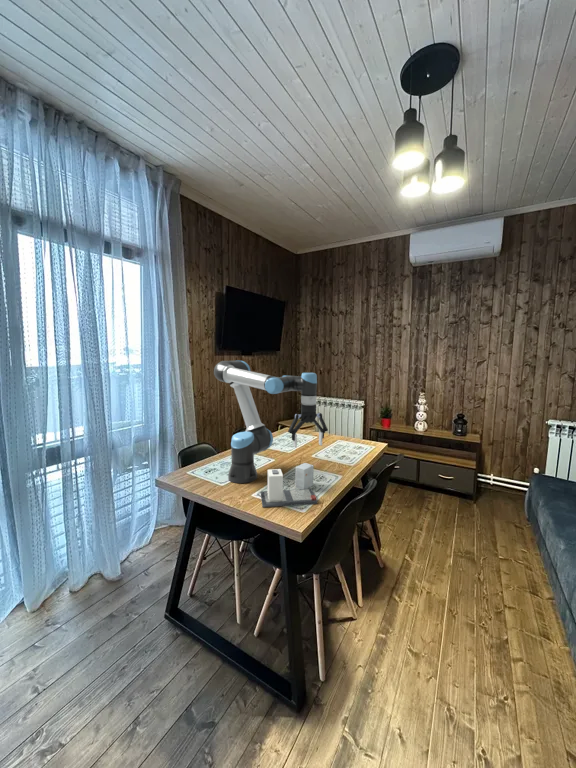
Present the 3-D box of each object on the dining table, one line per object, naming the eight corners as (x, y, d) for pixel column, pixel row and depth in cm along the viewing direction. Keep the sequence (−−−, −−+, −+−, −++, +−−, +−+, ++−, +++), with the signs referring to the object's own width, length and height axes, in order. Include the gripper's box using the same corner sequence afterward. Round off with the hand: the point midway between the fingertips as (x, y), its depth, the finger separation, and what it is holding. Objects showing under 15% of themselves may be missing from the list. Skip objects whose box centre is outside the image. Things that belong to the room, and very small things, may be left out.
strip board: (262, 507, 131) (262, 502, 131) (260, 494, 143) (260, 489, 143) (317, 503, 135) (317, 498, 135) (311, 491, 147) (311, 486, 146)
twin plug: (269, 500, 133) (269, 475, 132) (267, 492, 141) (267, 468, 140) (282, 500, 134) (283, 474, 133) (280, 491, 142) (280, 467, 141)
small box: (304, 482, 157) (304, 462, 156) (313, 485, 154) (313, 465, 152) (294, 487, 151) (295, 466, 150) (304, 490, 147) (304, 469, 146)
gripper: (286, 406, 145) (286, 449, 147) (335, 404, 152) (333, 446, 154) (282, 403, 152) (281, 445, 154) (328, 401, 159) (327, 441, 161)
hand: (307, 445), depth 154 cm, fingers open, 13 cm apart
